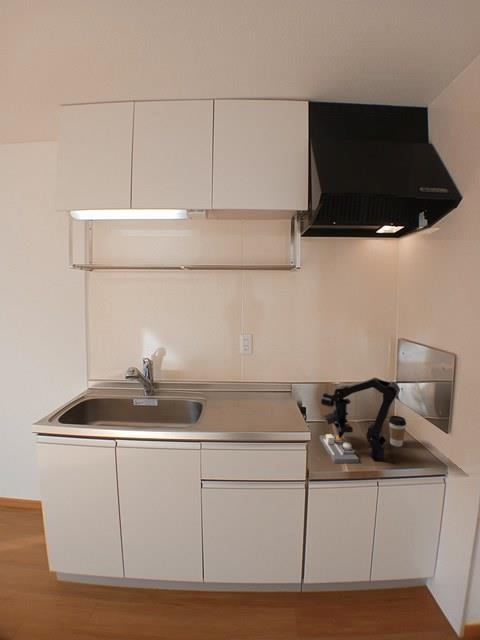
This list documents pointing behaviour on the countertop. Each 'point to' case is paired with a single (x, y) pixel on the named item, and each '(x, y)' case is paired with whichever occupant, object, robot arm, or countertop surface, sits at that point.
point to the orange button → (339, 438)
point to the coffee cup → (397, 430)
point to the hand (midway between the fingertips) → (339, 437)
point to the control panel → (339, 451)
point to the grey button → (347, 446)
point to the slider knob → (329, 439)
